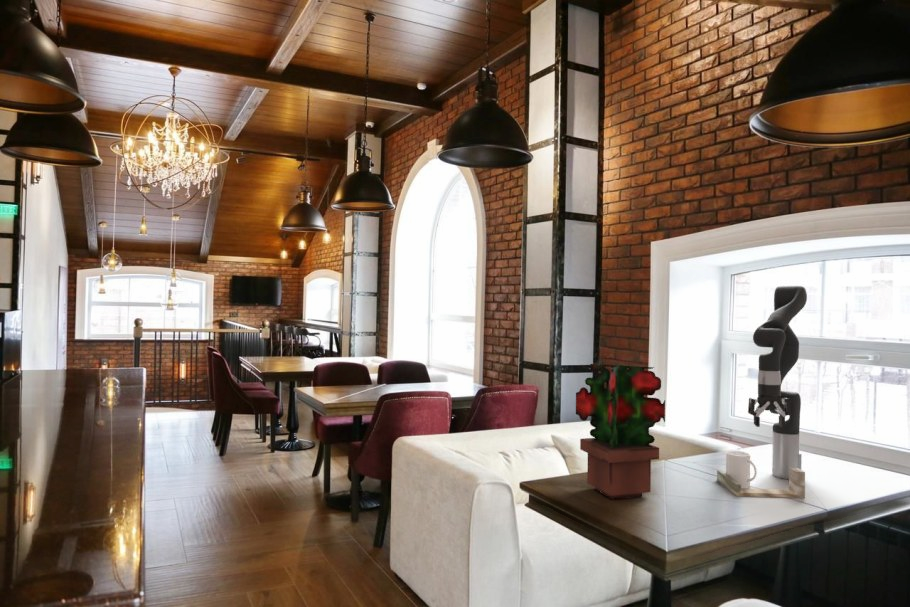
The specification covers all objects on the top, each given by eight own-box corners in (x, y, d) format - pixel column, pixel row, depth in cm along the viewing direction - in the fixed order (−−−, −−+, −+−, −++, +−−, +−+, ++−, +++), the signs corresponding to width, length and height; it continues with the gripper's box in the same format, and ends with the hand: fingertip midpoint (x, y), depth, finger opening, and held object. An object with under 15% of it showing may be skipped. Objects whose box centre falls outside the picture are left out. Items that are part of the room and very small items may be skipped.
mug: (763, 490, 223) (763, 457, 223) (745, 492, 220) (745, 459, 220) (737, 481, 234) (737, 449, 234) (720, 483, 231) (720, 451, 231)
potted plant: (664, 500, 211) (665, 368, 211) (606, 505, 204) (607, 369, 204) (628, 482, 232) (629, 362, 232) (575, 486, 226) (576, 363, 226)
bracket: (779, 482, 233) (779, 458, 233) (804, 497, 214) (805, 471, 214) (716, 480, 234) (717, 456, 234) (736, 495, 215) (736, 470, 215)
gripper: (784, 381, 231) (784, 424, 231) (745, 381, 231) (745, 424, 231) (794, 384, 223) (794, 428, 223) (754, 384, 224) (753, 428, 224)
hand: (769, 426), depth 227 cm, fingers open, 8 cm apart
